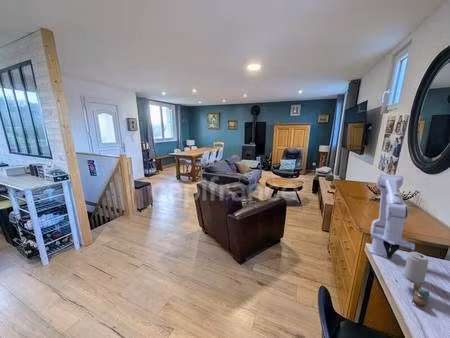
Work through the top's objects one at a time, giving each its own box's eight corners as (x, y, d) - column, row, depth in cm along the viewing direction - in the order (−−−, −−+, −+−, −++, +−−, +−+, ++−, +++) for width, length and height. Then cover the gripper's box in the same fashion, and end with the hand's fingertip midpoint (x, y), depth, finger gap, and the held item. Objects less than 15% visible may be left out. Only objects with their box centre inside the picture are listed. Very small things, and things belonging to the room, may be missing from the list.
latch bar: (425, 308, 69) (426, 303, 68) (413, 303, 71) (414, 298, 70) (421, 289, 77) (423, 284, 77) (411, 285, 79) (412, 280, 79)
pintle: (411, 299, 73) (413, 289, 73) (424, 304, 71) (426, 294, 70) (412, 305, 71) (414, 295, 70) (425, 311, 68) (428, 301, 68)
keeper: (417, 297, 74) (419, 287, 73) (426, 301, 72) (429, 291, 72) (417, 299, 73) (419, 290, 72) (427, 303, 71) (429, 293, 71)
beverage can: (428, 285, 80) (433, 260, 78) (410, 283, 81) (415, 259, 79) (416, 274, 86) (420, 251, 84) (400, 272, 87) (404, 250, 85)
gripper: (372, 228, 84) (368, 254, 86) (417, 239, 74) (411, 269, 77) (373, 222, 89) (369, 247, 91) (415, 232, 79) (410, 260, 82)
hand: (388, 257), depth 84 cm, fingers closed
